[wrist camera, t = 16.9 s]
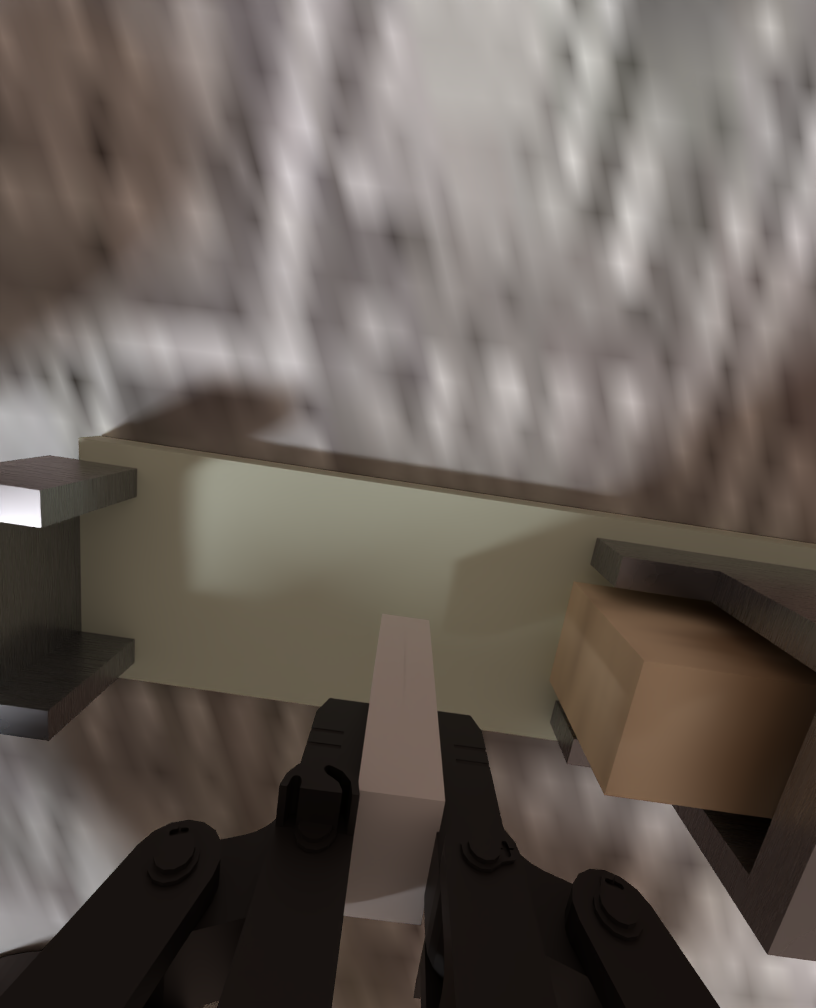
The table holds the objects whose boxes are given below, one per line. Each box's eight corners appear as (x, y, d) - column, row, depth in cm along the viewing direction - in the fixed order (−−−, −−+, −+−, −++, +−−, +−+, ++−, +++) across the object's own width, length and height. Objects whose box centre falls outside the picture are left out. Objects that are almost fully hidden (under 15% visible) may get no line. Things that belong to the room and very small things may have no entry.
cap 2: (549, 722, 17) (639, 937, 10) (597, 537, 15) (741, 643, 8) (804, 759, 17) (1062, 995, 10) (878, 579, 15) (1244, 718, 9)
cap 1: (55, 651, 17) (-55, 726, 13) (49, 455, 15) (-79, 472, 11) (134, 662, 17) (48, 740, 13) (137, 468, 15) (39, 490, 11)
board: (100, 657, 18) (82, 672, 17) (99, 435, 16) (78, 437, 15) (777, 755, 18) (797, 775, 17) (858, 550, 16) (886, 559, 15)
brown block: (794, 613, 16) (962, 706, 11) (758, 710, 17) (899, 836, 12) (573, 581, 16) (644, 660, 11) (549, 680, 17) (604, 795, 12)
